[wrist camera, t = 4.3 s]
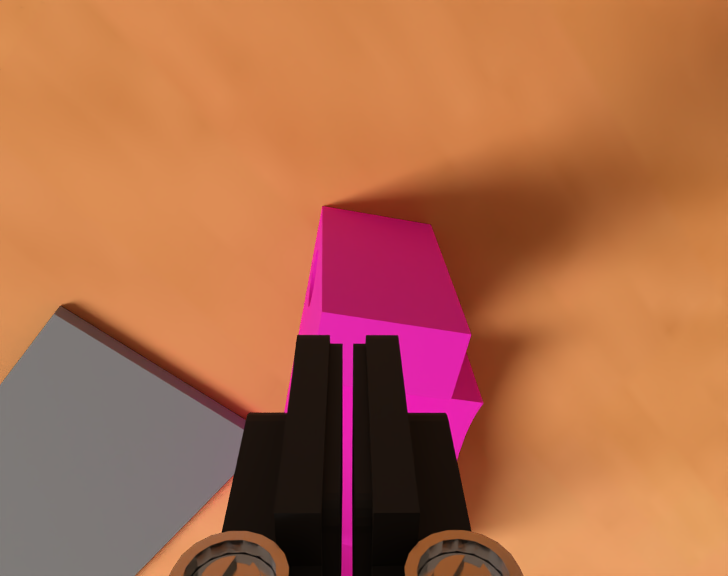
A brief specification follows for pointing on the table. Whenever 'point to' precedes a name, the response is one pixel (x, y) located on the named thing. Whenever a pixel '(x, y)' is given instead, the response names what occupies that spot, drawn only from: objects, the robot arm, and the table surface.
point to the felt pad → (102, 455)
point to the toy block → (390, 320)
